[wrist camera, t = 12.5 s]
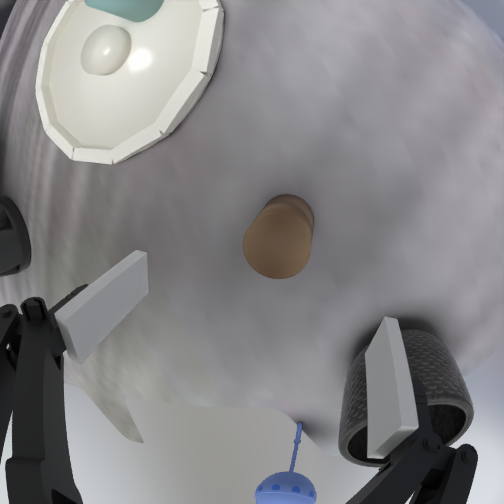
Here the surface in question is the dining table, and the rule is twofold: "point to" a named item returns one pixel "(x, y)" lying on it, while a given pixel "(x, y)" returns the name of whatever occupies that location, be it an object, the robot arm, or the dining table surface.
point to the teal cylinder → (127, 8)
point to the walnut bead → (280, 237)
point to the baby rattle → (287, 484)
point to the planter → (436, 387)
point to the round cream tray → (124, 76)
